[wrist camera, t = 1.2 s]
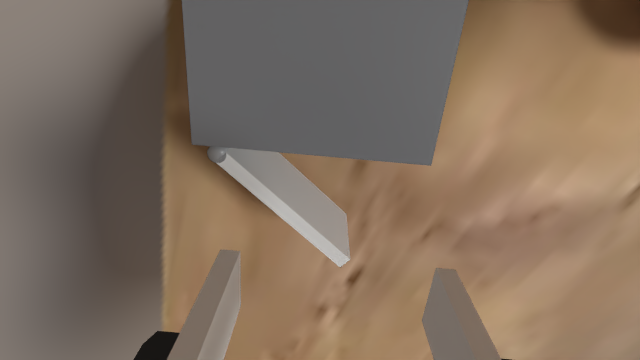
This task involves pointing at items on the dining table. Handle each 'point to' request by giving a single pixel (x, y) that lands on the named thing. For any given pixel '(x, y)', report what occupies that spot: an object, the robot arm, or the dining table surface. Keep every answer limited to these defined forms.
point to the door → (289, 197)
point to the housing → (321, 75)
